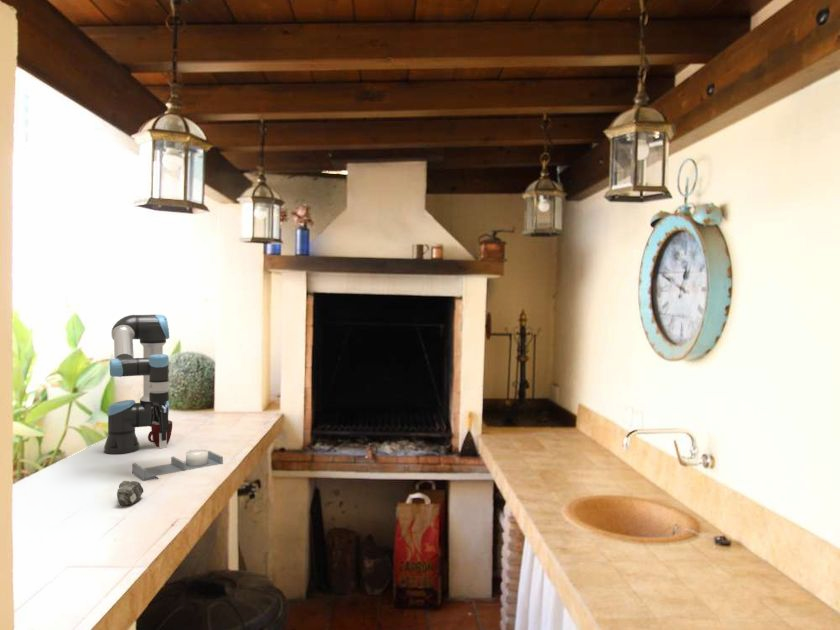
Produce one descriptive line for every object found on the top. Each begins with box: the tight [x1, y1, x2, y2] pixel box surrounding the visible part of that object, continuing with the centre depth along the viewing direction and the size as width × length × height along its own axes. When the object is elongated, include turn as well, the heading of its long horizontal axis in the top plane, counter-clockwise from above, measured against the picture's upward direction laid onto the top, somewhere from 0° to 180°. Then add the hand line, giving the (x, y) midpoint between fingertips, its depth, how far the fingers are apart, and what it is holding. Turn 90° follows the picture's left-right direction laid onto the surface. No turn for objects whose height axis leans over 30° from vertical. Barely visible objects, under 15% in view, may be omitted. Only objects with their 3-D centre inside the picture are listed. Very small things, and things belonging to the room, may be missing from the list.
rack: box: [131, 450, 224, 482], centre depth 263 cm, size 14×33×4 cm, turn 132°
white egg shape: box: [185, 449, 209, 466], centre depth 268 cm, size 9×9×5 cm
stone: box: [116, 480, 144, 507], centre depth 222 cm, size 14×7×10 cm, turn 20°
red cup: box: [147, 419, 173, 448], centre depth 256 cm, size 11×8×10 cm
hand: (159, 446), depth 257 cm, fingers closed on red cup, 8 cm apart
